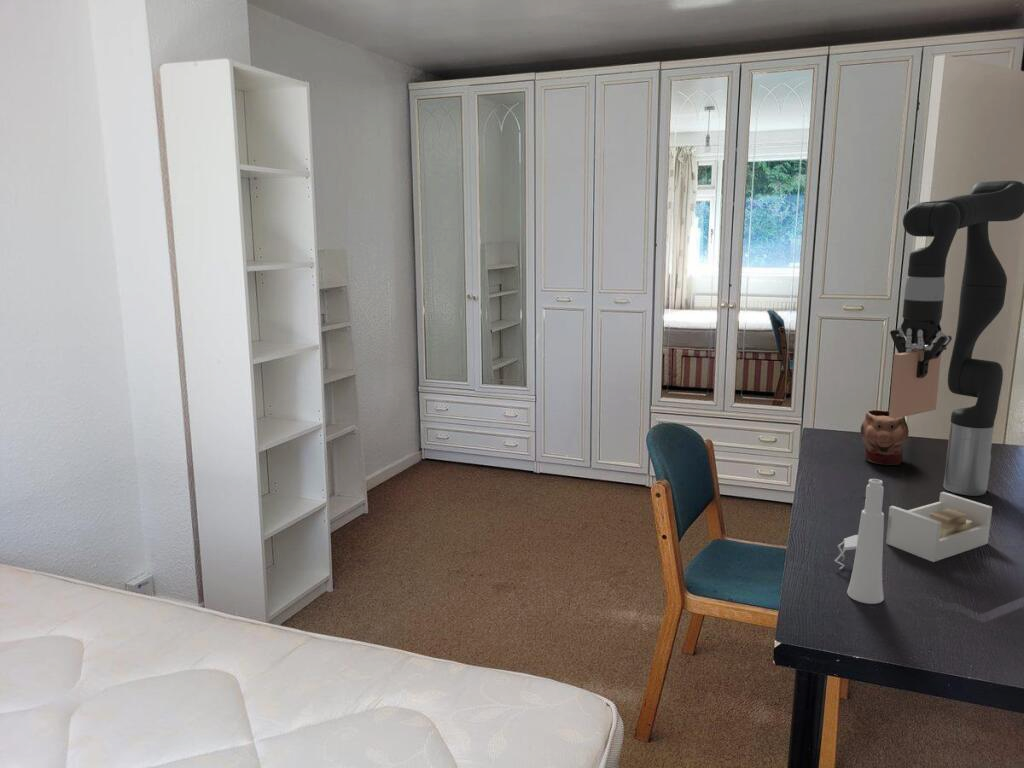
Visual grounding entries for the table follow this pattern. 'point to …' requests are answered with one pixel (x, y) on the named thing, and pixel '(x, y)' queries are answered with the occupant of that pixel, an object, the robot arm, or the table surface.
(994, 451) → the table surface
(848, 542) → the origami figure
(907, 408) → the board
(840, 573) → the table surface
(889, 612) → the table surface
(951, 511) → the offcut small
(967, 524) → the offcut mid
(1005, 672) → the table surface
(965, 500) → the rack
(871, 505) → the cosmetic bottle
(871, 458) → the decorative planter
